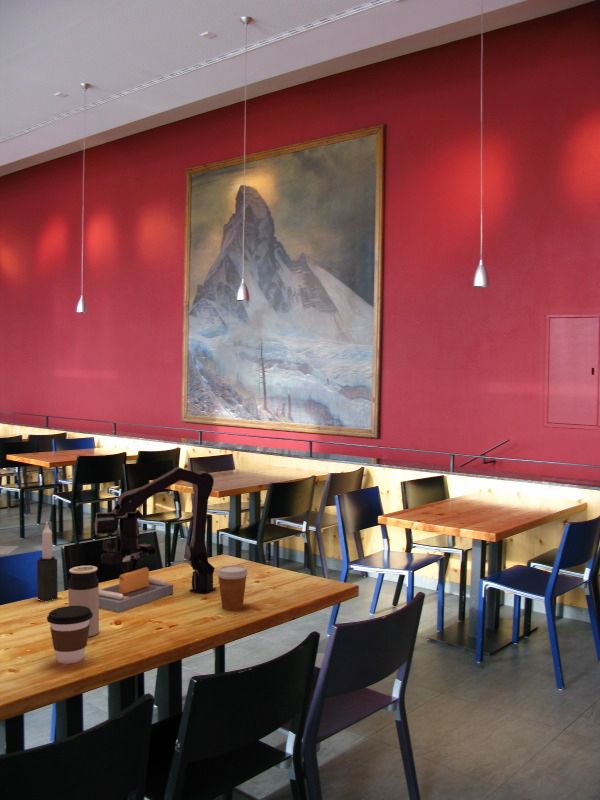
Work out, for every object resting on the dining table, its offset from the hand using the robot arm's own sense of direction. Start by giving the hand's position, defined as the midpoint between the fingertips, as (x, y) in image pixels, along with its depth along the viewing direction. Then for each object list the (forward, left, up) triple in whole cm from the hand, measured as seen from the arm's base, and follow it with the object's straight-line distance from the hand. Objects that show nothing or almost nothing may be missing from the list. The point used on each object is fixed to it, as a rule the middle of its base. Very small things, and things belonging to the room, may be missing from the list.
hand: (128, 580), depth 237 cm
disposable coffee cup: (-34, -10, -6) cm, 36 cm away
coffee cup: (-26, +46, -6) cm, 53 cm away
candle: (+22, +14, -6) cm, 27 cm away
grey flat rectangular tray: (0, 0, -6) cm, 6 cm away
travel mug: (-14, +31, -6) cm, 35 cm away
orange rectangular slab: (-2, 0, -3) cm, 4 cm away
